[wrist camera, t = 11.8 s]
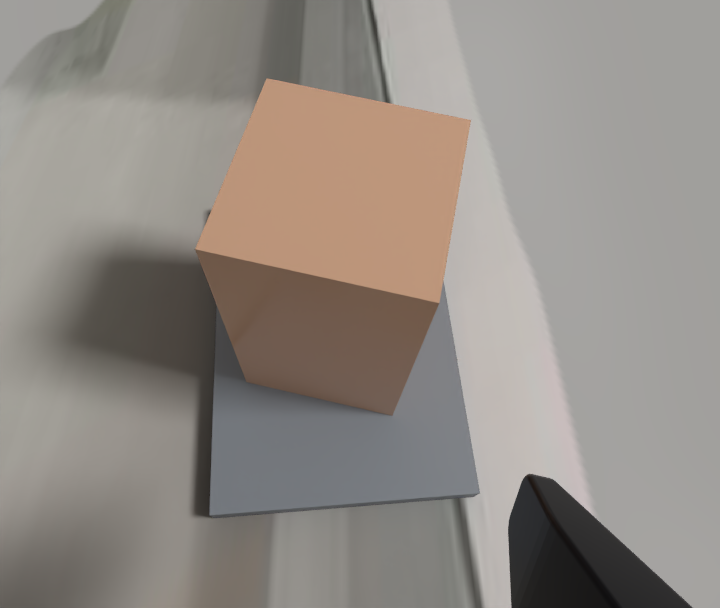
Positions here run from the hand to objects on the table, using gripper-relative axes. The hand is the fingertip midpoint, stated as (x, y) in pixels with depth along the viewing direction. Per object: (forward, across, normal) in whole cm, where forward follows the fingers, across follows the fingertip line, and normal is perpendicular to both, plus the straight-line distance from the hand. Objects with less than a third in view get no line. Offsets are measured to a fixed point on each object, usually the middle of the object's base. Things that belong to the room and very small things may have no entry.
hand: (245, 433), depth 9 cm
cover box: (+14, 0, +4) cm, 15 cm away
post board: (+15, 0, +4) cm, 16 cm away
